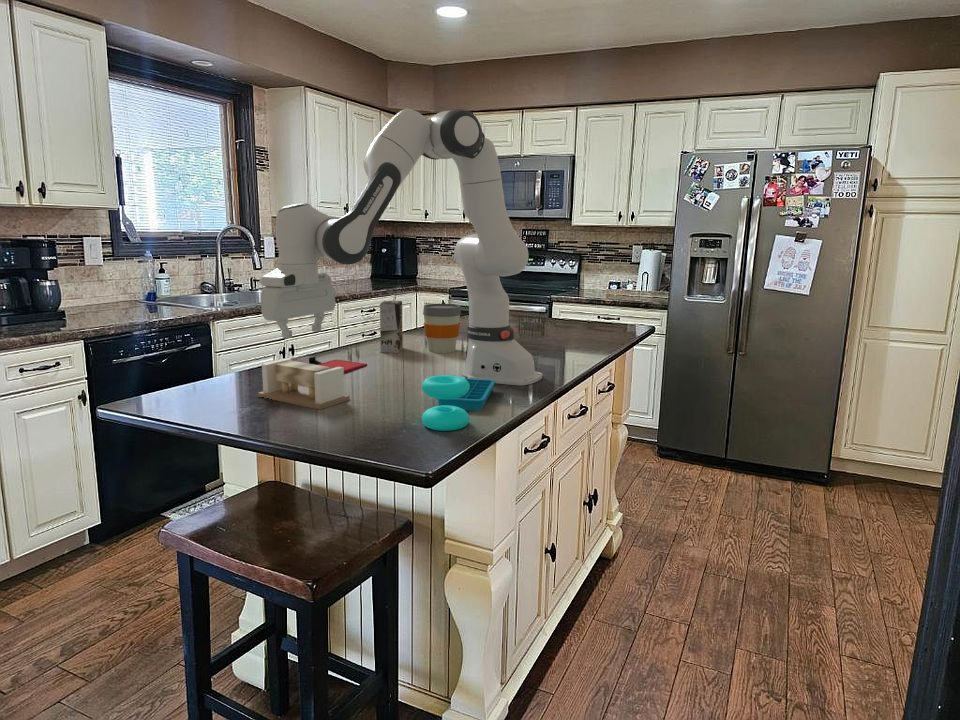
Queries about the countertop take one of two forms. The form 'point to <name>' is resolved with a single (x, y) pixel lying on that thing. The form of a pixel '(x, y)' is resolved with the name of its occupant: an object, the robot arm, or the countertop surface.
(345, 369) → the red board with handle
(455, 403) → the ice cube tray
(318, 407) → the cradle
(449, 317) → the reusable coffee cup
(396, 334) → the coffee box
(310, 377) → the tan wooden block
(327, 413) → the countertop surface
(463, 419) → the donuts
